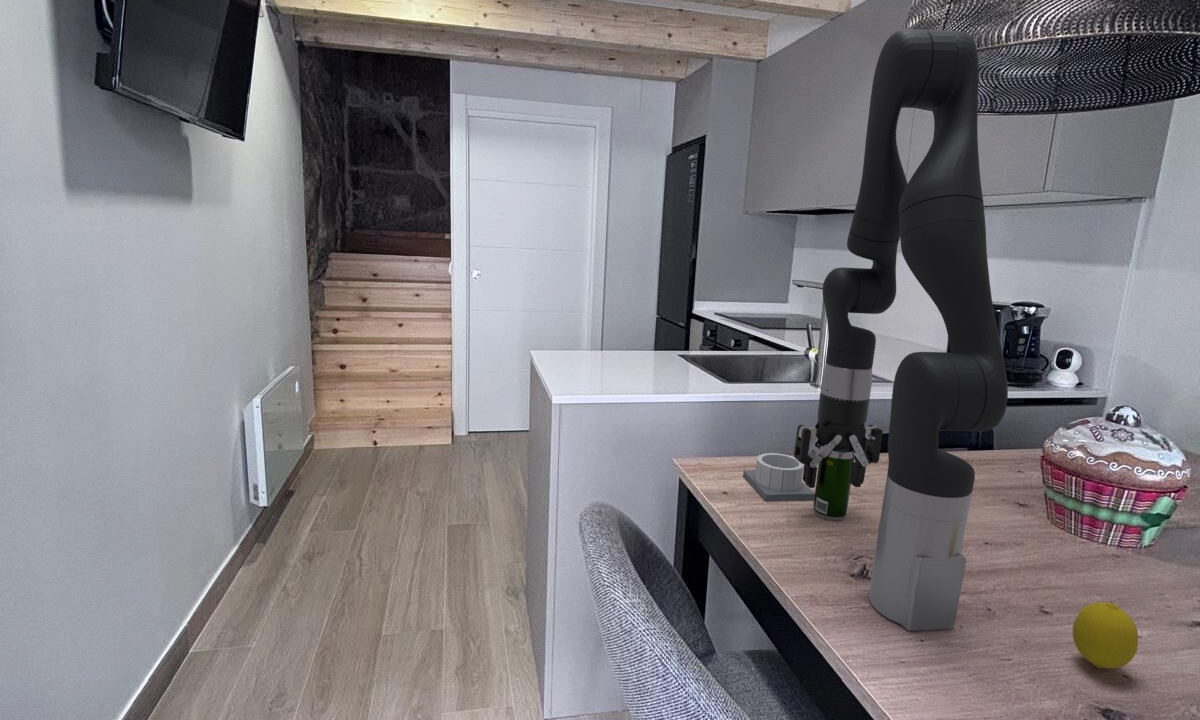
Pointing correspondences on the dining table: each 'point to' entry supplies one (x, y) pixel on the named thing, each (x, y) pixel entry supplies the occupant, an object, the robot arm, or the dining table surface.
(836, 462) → the beer can
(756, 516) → the dining table surface
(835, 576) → the dining table surface
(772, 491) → the flanged pipe fitting
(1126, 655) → the lemon
